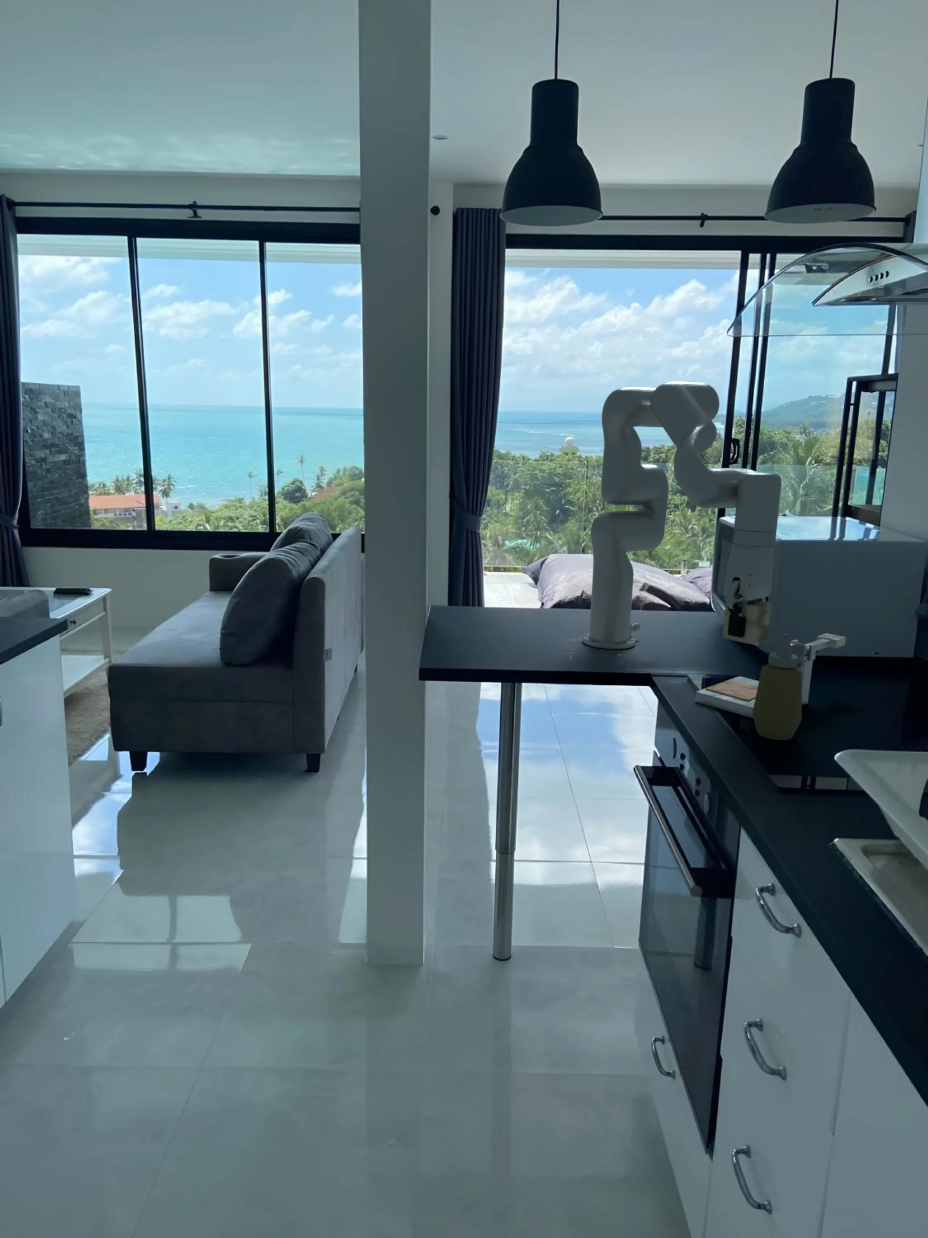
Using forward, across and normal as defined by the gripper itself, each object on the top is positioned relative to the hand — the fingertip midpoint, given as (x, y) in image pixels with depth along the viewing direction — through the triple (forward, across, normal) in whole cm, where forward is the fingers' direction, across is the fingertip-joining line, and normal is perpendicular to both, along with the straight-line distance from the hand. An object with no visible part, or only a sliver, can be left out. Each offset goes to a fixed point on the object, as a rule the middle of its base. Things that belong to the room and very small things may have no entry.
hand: (745, 632), depth 165 cm
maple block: (+1, 0, 0) cm, 1 cm away
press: (+14, -1, +2) cm, 14 cm away
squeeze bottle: (+14, +12, +14) cm, 23 cm away
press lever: (+5, -12, +8) cm, 15 cm away
